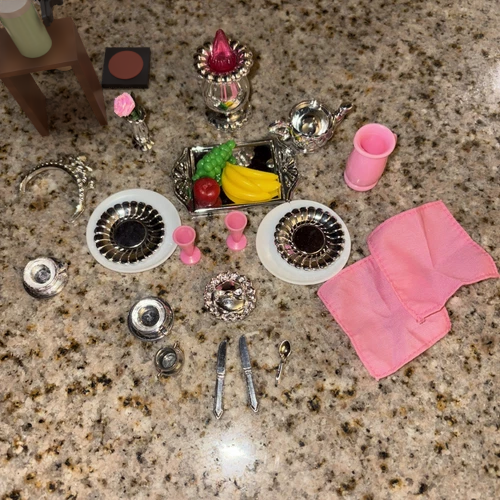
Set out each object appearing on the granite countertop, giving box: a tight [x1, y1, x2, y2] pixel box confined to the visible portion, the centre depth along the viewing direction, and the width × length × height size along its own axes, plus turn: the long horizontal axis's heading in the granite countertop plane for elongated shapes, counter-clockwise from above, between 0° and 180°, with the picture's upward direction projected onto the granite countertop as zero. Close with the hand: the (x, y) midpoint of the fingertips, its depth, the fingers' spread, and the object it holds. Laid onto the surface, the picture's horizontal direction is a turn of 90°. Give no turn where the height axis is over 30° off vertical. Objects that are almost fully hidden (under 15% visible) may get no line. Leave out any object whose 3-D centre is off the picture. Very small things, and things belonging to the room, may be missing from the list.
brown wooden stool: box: [0, 16, 109, 138], centre depth 97 cm, size 14×10×20 cm
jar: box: [0, 0, 52, 58], centre depth 82 cm, size 6×6×10 cm
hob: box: [100, 46, 152, 89], centre depth 109 cm, size 10×10×2 cm
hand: (20, 26), depth 81 cm, fingers open, 8 cm apart
